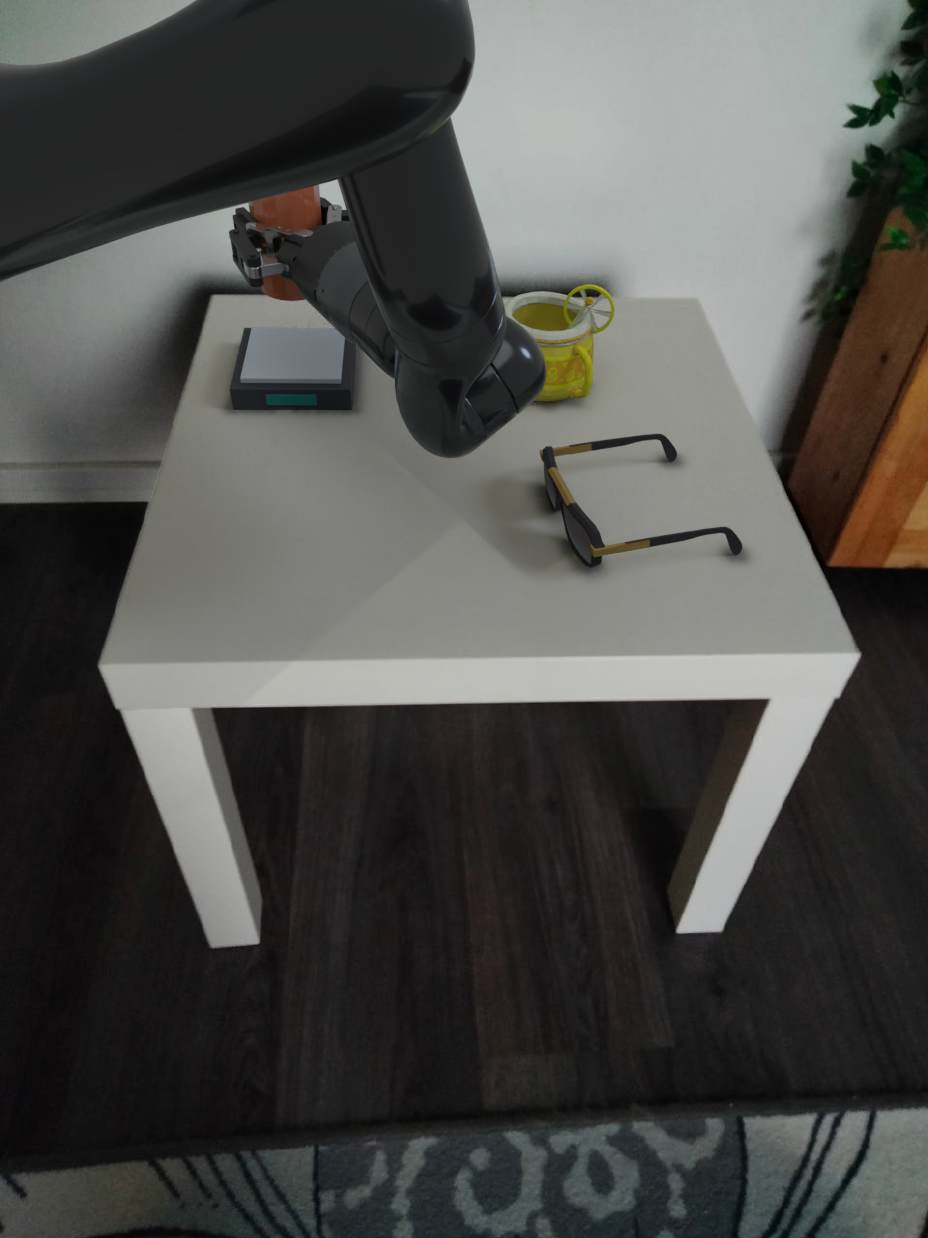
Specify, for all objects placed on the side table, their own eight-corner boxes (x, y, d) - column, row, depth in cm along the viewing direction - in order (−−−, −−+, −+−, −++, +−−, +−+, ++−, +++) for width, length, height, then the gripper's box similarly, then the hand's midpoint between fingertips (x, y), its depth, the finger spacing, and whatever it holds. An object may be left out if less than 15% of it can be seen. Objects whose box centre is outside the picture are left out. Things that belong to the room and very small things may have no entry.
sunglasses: (740, 555, 79) (755, 511, 75) (577, 582, 75) (585, 538, 72) (674, 460, 88) (685, 416, 84) (526, 481, 85) (531, 437, 81)
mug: (468, 373, 97) (473, 266, 88) (544, 344, 102) (556, 239, 93) (545, 431, 90) (559, 321, 81) (623, 397, 95) (644, 289, 86)
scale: (351, 410, 91) (350, 384, 89) (232, 409, 91) (228, 384, 88) (356, 348, 100) (354, 323, 97) (247, 347, 99) (243, 321, 97)
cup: (293, 307, 81) (281, 194, 74) (246, 286, 84) (229, 174, 77) (340, 284, 85) (333, 173, 78) (294, 263, 87) (282, 155, 80)
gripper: (438, 223, 72) (343, 153, 81) (273, 262, 66) (191, 182, 76) (437, 310, 77) (348, 235, 87) (284, 353, 72) (207, 268, 81)
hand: (275, 211), depth 81 cm, fingers closed on cup, 6 cm apart
